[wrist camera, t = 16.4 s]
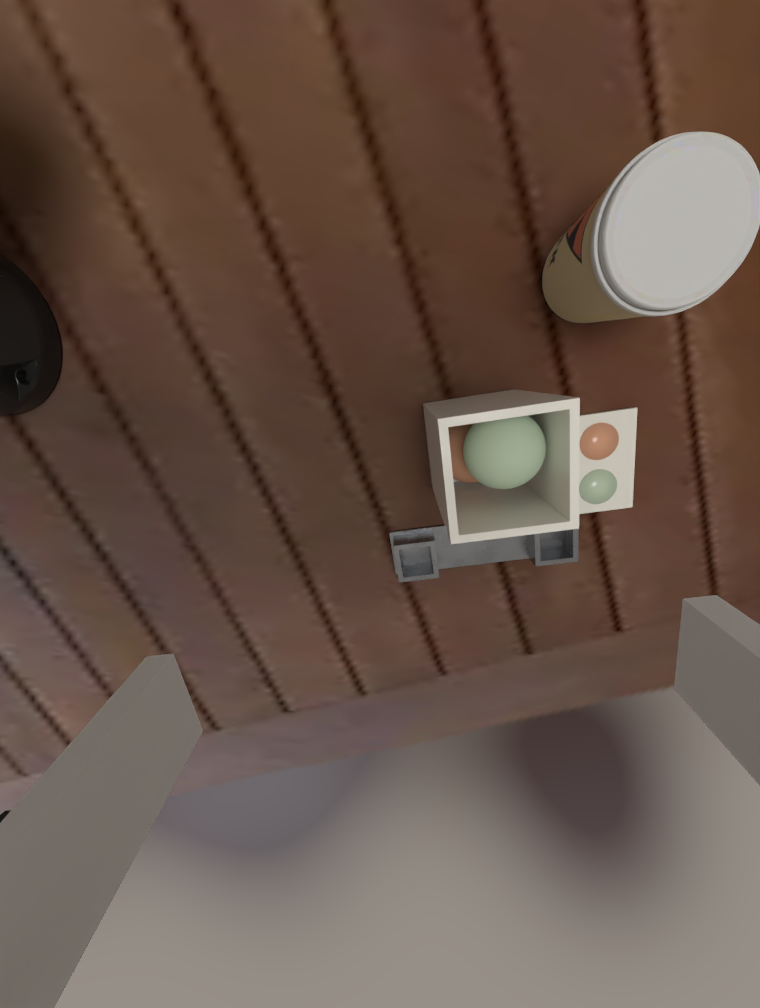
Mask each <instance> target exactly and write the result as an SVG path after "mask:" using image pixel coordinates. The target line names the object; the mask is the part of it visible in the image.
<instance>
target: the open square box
mask: <svg viewBox="0 0 760 1008" xmlns="http://www.w3.org/2000/svg"><path fill="white" fill-rule="evenodd" d="M423 411H424V419H425V428H426V437H427V445H428V454H429V462H430V471H431V480H432V488H433V492H434V495H435V498H436V501H437V504H438V507H439V510H440V513H441V516H442V519H443V522H444V525H445V528H446V531H447V534H448V537H449V540H450V543H451V544H458V543H466V542H474V541H482V540H491V539H499V538H507V537H515V536H523V535H531V534H539V533H547V532H555V531H563V530H571V529H579V450H580V398H578V397H570V396H562V395H554V394H546V393H538V392H530V391H522V390H515V389H513V390H506V391H500V392H493V393H487V394H481V395H474V396H468V397H461V398H455V399H448V400H442V401H435V402H429V403H423ZM527 415H528V416H529V417H531V418H532V419H533V420H534V421H535V422H536V423H537V424H538V425H539V427H540V428H541V430H542V432H543V434H544V437H545V441H546V454H545V459H544V461H543V464H542V466H541V468H540V470H539V471H538V472H537V474H536V475H535V476H534V477H533V478H532V479H530V480H529V481H528V482H526V483H525V484H523V485H521V486H518V487H515V488H511V489H495V488H491V487H488V486H485V485H483V484H482V483H480V482H475V483H465V482H461V481H458V480H455V479H453V472H452V461H451V451H450V441H449V431H448V427H453V426H460V425H467V424H473V423H480V422H487V421H494V420H500V419H507V418H514V417H520V416H527Z"/></svg>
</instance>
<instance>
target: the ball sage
mask: <svg viewBox="0 0 760 1008" xmlns="http://www.w3.org/2000/svg"><path fill="white" fill-rule="evenodd" d="M545 454H546V441H545V437H544V434H543V432H542V430H541V428H540V427H539V425H538V424H537V423H536V422H535V421H534V420H533V419H532V418H531V417H529V416H528V415H527V416H520V417H514V418H507V419H500V420H494V421H487V422H480V423H474V424H473V425H472V427H471V428H470V429H469V431H468V433H467V435H466V438H465V441H464V445H463V457H464V461H465V464H466V467H467V469H468V471H469V472H470V474H471V475H472V476H473V477H474V478H475V479H476V480H477V481H479V482H480V483H482V484H483V485H485V486H488V487H491V488H495V489H511V488H515V487H518V486H521V485H523V484H525V483H526V482H528V481H529V480H530V479H532V478H533V477H534V476H535V475H536V474H537V472H538V471H539V470H540V468H541V466H542V464H543V461H544V459H545Z"/></svg>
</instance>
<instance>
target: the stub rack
mask: <svg viewBox="0 0 760 1008" xmlns="http://www.w3.org/2000/svg"><path fill="white" fill-rule="evenodd" d="M389 535H390V541H391V547H392V554H393V560H394V566H395V573H396V574H398V579H399V582H407V581H416V580H424V579H433V578H439V572H438V569H443V568H452V567H460V566H469V565H477V564H485V563H494V562H502V561H511V560H519V559H527V558H530V559H531V561H532V562H533V563H534V565H535V566H543V565H552V564H560V563H569V562H577V561H578V529H571V530H563V531H555V532H547V533H539V534H531V535H523V536H515V537H507V538H499V539H491V540H482V541H474V542H466V543H458V544H451V543H450V540H449V537H448V534H447V531H446V528H445V525H437V526H429V527H421V528H413V529H406V530H398V531H390V532H389Z"/></svg>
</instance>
